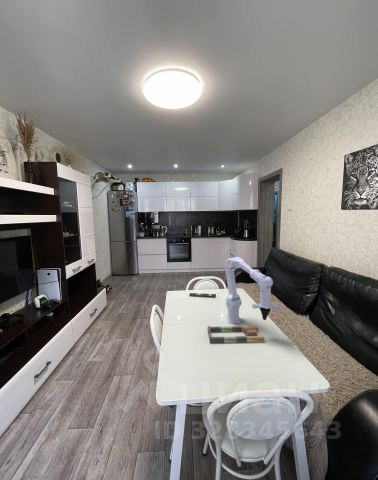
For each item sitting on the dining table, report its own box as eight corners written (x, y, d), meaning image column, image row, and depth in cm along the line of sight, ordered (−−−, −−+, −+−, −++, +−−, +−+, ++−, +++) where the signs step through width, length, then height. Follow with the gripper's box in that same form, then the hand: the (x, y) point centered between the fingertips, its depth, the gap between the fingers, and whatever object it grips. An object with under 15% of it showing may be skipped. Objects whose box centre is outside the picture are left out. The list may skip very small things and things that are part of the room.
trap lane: (207, 330, 134) (207, 326, 134) (256, 329, 135) (256, 325, 134) (209, 343, 121) (209, 338, 121) (264, 342, 122) (264, 337, 121)
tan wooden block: (244, 333, 131) (244, 326, 130) (253, 333, 131) (253, 326, 131) (247, 339, 125) (247, 331, 124) (257, 338, 125) (257, 331, 125)
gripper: (255, 300, 121) (254, 322, 123) (280, 300, 121) (279, 322, 123) (251, 295, 128) (250, 317, 130) (275, 295, 128) (274, 316, 130)
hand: (264, 319), depth 127 cm, fingers closed
